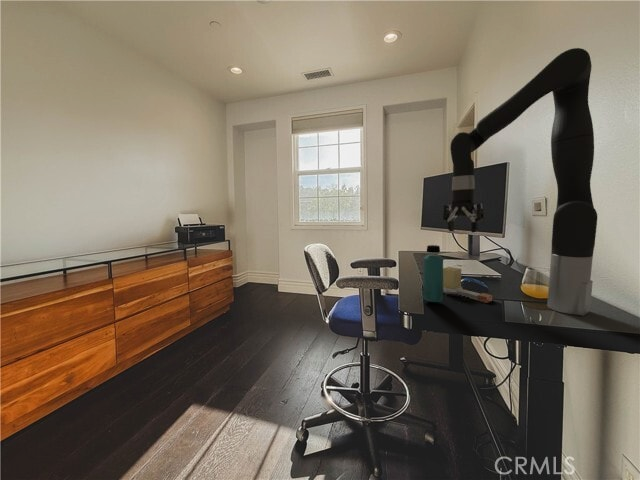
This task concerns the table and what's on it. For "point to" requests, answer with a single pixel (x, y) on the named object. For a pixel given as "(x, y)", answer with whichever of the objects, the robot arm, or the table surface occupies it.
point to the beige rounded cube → (451, 277)
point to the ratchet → (469, 294)
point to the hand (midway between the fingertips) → (462, 231)
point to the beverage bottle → (433, 275)
